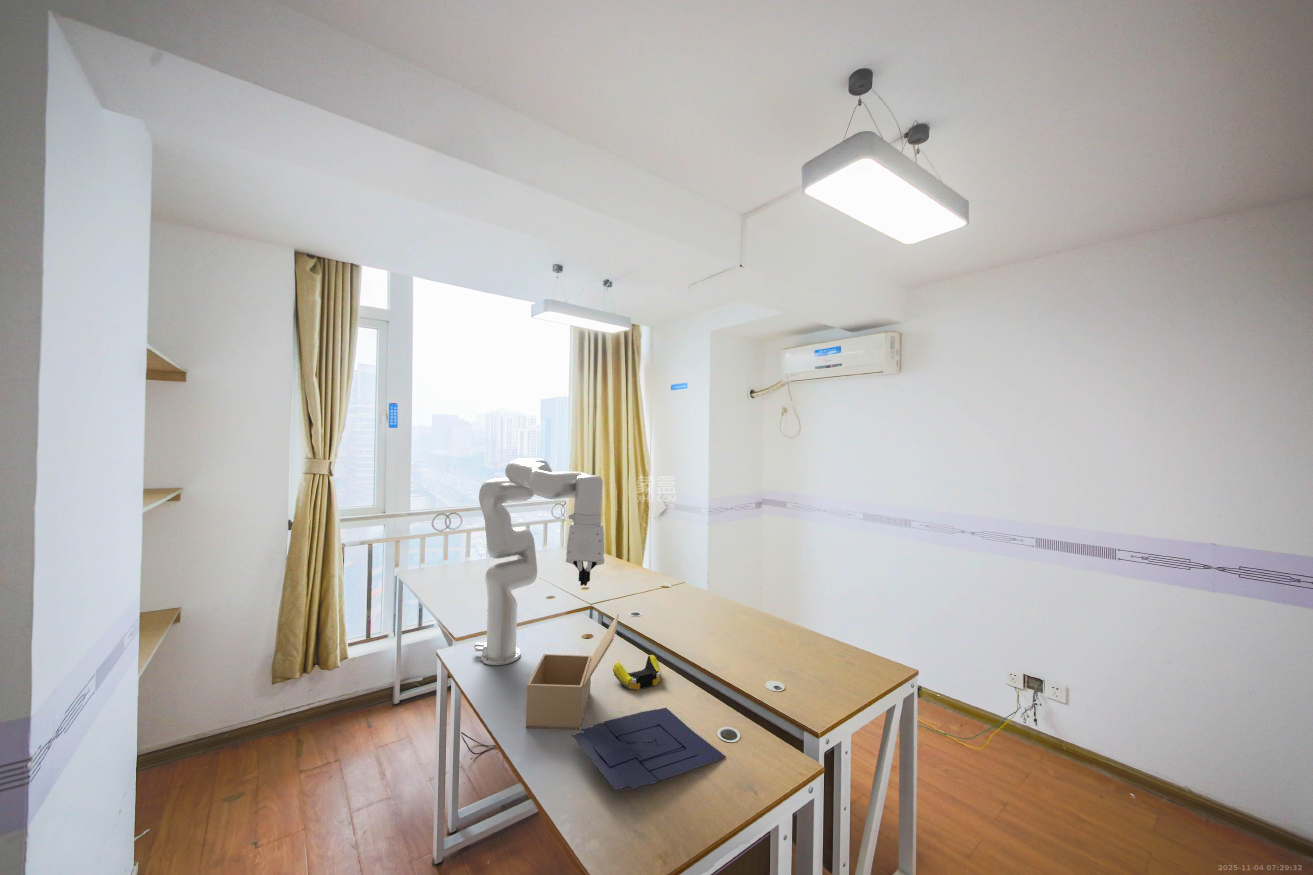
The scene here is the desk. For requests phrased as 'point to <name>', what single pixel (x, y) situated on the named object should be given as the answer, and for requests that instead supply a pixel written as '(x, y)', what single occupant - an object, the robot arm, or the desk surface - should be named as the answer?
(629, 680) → the gaming controller
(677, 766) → the folded navy cloth
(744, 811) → the desk surface
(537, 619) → the desk surface
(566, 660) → the carton
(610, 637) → the flap
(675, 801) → the desk surface
